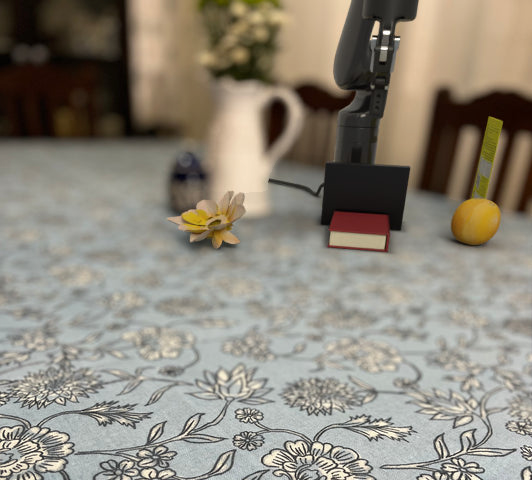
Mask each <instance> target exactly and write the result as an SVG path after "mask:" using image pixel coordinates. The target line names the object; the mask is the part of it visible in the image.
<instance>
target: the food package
mask: <svg viewBox="0 0 532 480" xmlns="http://www.w3.org/2000/svg"><path fill="white" fill-rule="evenodd" d="M503 123H504V121H503V120H502V119H498V118H495V117H492V116H488V118H487V124H486V128H485V131H484V137H483V142H482V146H481V151H480V156H479V159H478V160H479V161H478V164H477V165H478V166H477V170H476V175H475V179H474V184H473V189H472V193H471V198H470V199H474V198H481V199H487V195H488V190H489V187H490V181H491V177H492V172H493V168H494V163H495V159H496V154H497V150H498V145H499V140H500V136H501V132H502V128H503Z"/></svg>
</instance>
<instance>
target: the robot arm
mask: <svg viewBox="0 0 532 480" xmlns="http://www.w3.org/2000/svg"><path fill="white" fill-rule="evenodd" d="M419 2H420V0H351V1H350V5H349V7H348V11H347V14H346V18H345V21H344V24H343V27H342V30H341V33H340V37H339V40H338V44H337V46H336V50H335V55H334V59H333V66H332V72H333V73H332V75H333V81H334V83H335V85H336V86H337V88H339V89H340V90H342V91H349V92H351V91H353V92H355V95H354V98H353V100H352V101H351V102H350V104H349V105H347V106H345V107H343V108H342V109H340V110H339V111H338V113H337V117H336V127H335V128H336V129H335V140H334V153H333V160H331V162H349V163H366V164H376V157H377V149H378V140H379V134H380V133H379V132H380V125H381V119H383V118H384V114H385V110H386V106H387V101H388V100H387V99H388V96H389V95H388V94H389V89H390V83H391V77H392V73H394V71H395V66H396V59H397V52H398V51H399V49H400V42H401V35H396V26H397V24H398V23H408V22H413V21H415V20H416V18H417V16H418V15H417V14H418V10H419ZM376 22H378V23H379V25H378V32H377V34H373V32H374V31H373V30H374V27H375V24H376ZM268 178H269V177H268ZM268 182H270V183H274V184H275V183H276V184H280V185H284V186H289V187H294V188H299V189H303V190H306V191H307V192H308V193H309V194H311V196H314V197H318V196H319V195H320V193H321V191H322V189H324V182H322V183H321V184H320V185H319V186H318V188H317V190H316V192H315V191H314V190H312V189H311V188H310V187H309V186H306V185H304V184H299V183H294V182H290V181H284V180H279V179H276V178H275V179H274V178H269V181H268Z"/></svg>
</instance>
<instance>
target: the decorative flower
mask: <svg viewBox="0 0 532 480" xmlns="http://www.w3.org/2000/svg"><path fill="white" fill-rule="evenodd" d="M234 194H235V191H234V190H227V192H226V193H225V194H224V195H223V196H222V197H220V199H219V201H218V203H217V202H216V201H215V200H209V199H202V200H200V201H199V202H197V204H196V207H195V208H196V209H191V208H190V209H188V210H187V211H184V212H182V213H181V215H178V216H169V217H166V218H165V219H166V220H167V221H168V222H171V223H173V224H175V225H177V226H178V230H180V231H183V232H185V233H189V243H194V242H200V241H203V240H205V239H207V240H208V239H210V240H211V244H212V247H213V248H214V249H216V250H218V249H219V248H220V247H221V246H222V244H223V241H224V242H225V243H228V244H232V245H236V244H238V243H240V242H241V240H240V239H239V238H238V237H237V236H236V235H234V234H233V233H232V232H230V231H233V228H232V227H234V223H235V222H237V221H238V220H240V219H241V218H242V217H243V216H244V215H245V214H246V213H247V209H246V208H245V205H244V202H245V197H246V195H245V193H244V192H238V193H236V194H235V195H234Z"/></svg>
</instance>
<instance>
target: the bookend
mask: <svg viewBox="0 0 532 480" xmlns="http://www.w3.org/2000/svg"><path fill="white" fill-rule="evenodd" d="M331 161H332V160H331ZM331 161H329V160H327V161H326V162H325V166H324V179H323V183H324V187H323V188H322V189H323V190H322V202H321V203H322V204H321V216H320V225H321V226H330V224H331V221H332V218H333V215H334V211H338V212H352V213H366V214H380V215H388V216H389V227H390V231H398V232H401V231H402V225H403V221H404V220H403V219H404V212H405V206H406V199H407V193H408V186H409V181H410V174H411V166H410V165H400V164H399V165H398V164H384V163H383V164H381V163H375V164H366V163H349V162H331Z"/></svg>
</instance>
